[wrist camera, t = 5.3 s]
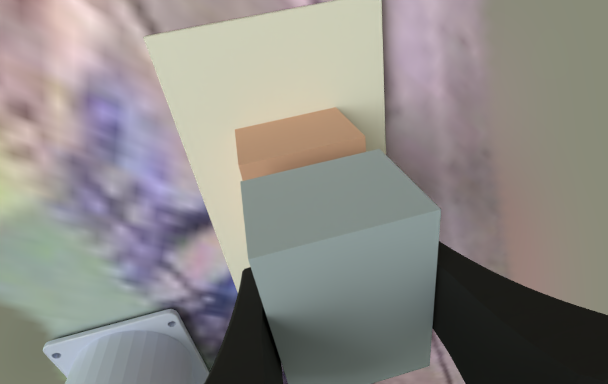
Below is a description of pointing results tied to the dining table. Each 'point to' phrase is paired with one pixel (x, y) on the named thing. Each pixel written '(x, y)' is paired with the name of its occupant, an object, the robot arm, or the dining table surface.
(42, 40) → the dining table surface
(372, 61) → the baseboard
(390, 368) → the slate brick
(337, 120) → the terracotta brick
